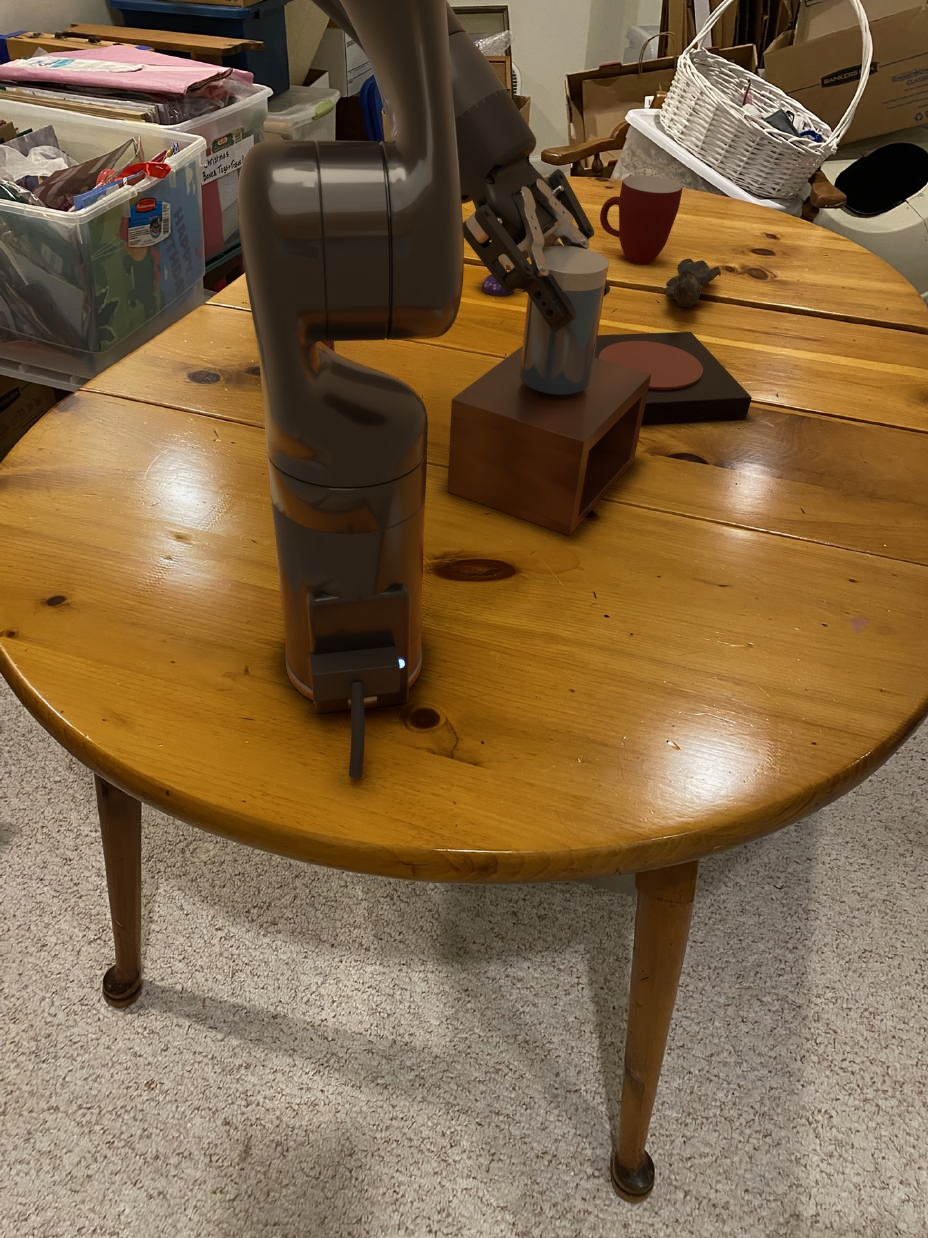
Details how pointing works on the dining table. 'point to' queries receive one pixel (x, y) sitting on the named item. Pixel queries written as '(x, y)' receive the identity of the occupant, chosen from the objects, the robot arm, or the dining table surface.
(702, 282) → the statue
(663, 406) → the hot plate
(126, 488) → the dining table surface
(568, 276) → the jar
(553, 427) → the shelf
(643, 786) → the dining table surface
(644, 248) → the mug
